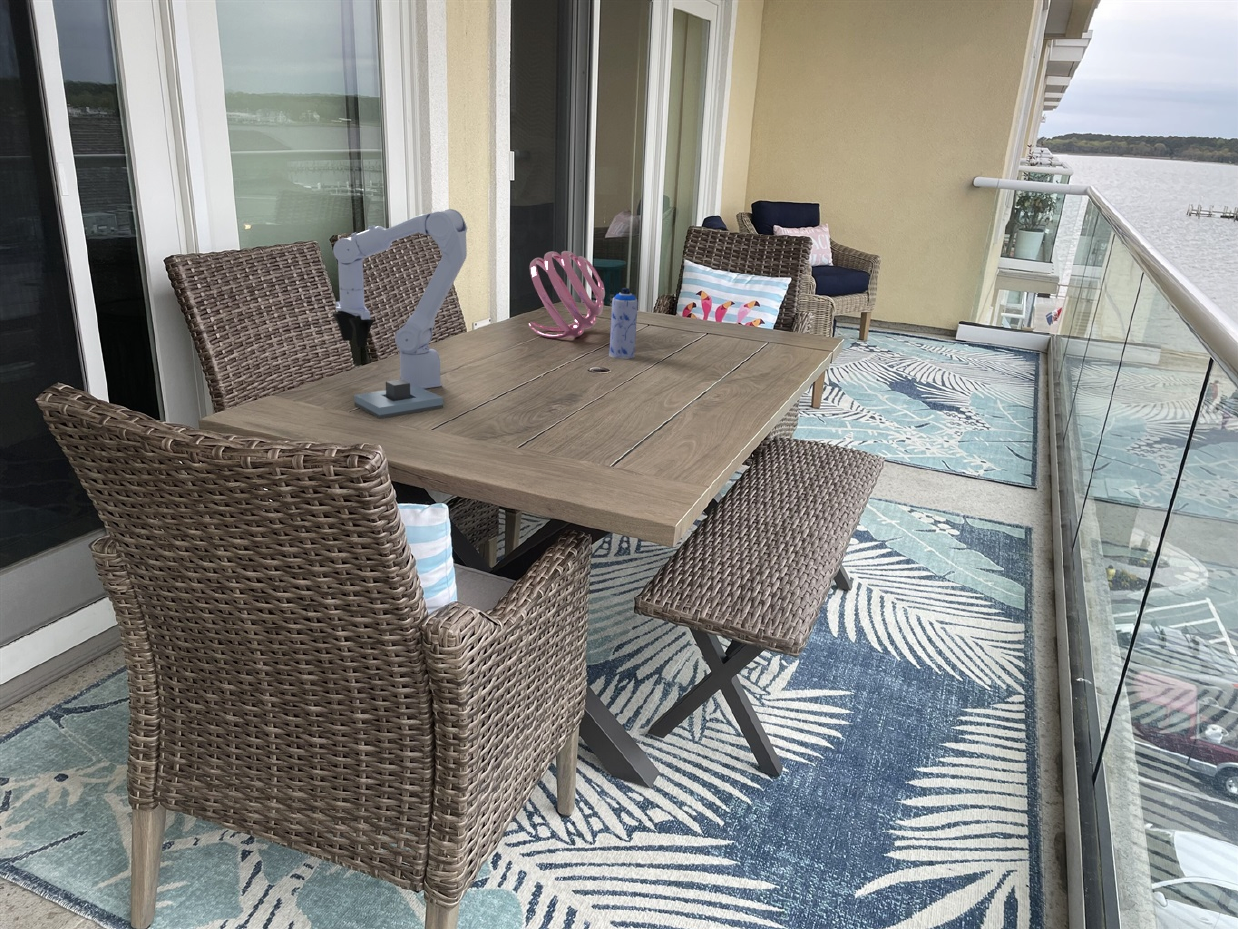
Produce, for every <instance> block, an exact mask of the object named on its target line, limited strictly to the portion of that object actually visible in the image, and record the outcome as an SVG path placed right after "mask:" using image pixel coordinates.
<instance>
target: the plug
mask: <svg viewBox="0 0 1238 929" xmlns="http://www.w3.org/2000/svg"><path fill="white" fill-rule="evenodd" d="M385 390H386V398H388V399H390V400H392V401H398V400H404V399H410V383H409V382H406V381H404V380H402V379H400V378H399V379H393V380H388V381H387V380H386V381H385Z"/></svg>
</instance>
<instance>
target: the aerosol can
mask: <svg viewBox="0 0 1238 929" xmlns="http://www.w3.org/2000/svg"><path fill="white" fill-rule="evenodd" d="M630 291H631V290H630V288H627V287H622V288H621V292H619V293H616V295H615V296H613V298H612V302H611V319H610V334H609V336H610V338H609V352H608V356H609V357H611V358H614V359H619V360H620V359H622V360H629V359H635V357H636V354H635V351H636V349H635V348H636V335H637V334H636V333H637V321H638V320H637V318H638V317H637V316H638V302H639V301H638V299H637V298H636V295H634V294H633V293H631V292H630Z"/></svg>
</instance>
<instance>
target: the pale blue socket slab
mask: <svg viewBox="0 0 1238 929" xmlns="http://www.w3.org/2000/svg"><path fill="white" fill-rule="evenodd" d="M354 406H356V407H358V408H359V409H361V410H363V411H365V412H367V413H368V414H371V415H372V416H374V417H375V418H377V419H385V418H391V417H392V418H393V417H398V416H404V415H409V414H416V413H423V412H428V411H432V410H433V411H435V410H439V409H443V408H444V397H443V396H441V395H438V394H436V393H434V392H431V391H429V390H427V389H426V388H425V389H423V388H421V387H419V386H411V387H410V399H404V400H398V401H392V400H390V399H388V398H386V389H385V390H377V391H371V392H364V393H358V394H354ZM427 410H428V411H427Z"/></svg>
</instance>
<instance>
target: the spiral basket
mask: <svg viewBox="0 0 1238 929" xmlns="http://www.w3.org/2000/svg"><path fill="white" fill-rule="evenodd" d="M553 259H554V260H556V261H557V263H559V265H560V266H561V267H562V268H563V270H564V271H565V274H566V275H567V277H568V280H569V282H570V283H571V285H572V287H573V289H574V290H575V292H576V293H577V295H578V297H579V298H580V300H581V301H582V303H583V304H584V306H585V308H586V311H587V315H586V316H583V314H582V313H581V311H580V309H579V308H578V305H577V303H576V301H575V299H574V298H573V295H572V294H571V292H570V290H569V288H568V287H567V285H566V284H565V281H563V279H562V278H561V276H560V275H559V274H558V272H557V270H556V268H555V264H554V261H553ZM571 259H572V261H574V263H575V264H576V266H577V267H578V268H579V270H580V271H581V273H582V275H583V277H584V279H585V281H586V282H587V284H588V286H589V287H590V289H591V290H592V292H593V295H594V297H595V299H596V300H595V302H593V300H592V299H591V297H590V296H589V295H588V294H589V293H587V291H586V288H585V287H584V285H583V283H582V281H581V279H580V278H579V277H578V275H577V274H576V272H575V271H574V268H573V266H572V262H571ZM537 266H539V267H540V268H542V269H543V271H545V272H546V274H547V275H548V276H547V277H548V278H549V280H550V282H551V284H552V286H553V288H554V290H555V293H556V294H557V296H558V298H559V299H560V301H561V302H562V305H564V307H565V308H566V309H567V311H568V313H569V314H570V315H571V317H572V318H573V322H572V323H571V324H568V323H567V321H565V320H564V318H563V317H562V316H561V315H560V312H559V311H558V309H556V307H555V305H554V304H553V302H552V300H551V298H550V297H549V295H548V293H547V291H546V289H545V287H544V285H543V283H542V280H541V277H540V274H539V271H538V268H537ZM587 266H588V267H587ZM588 268H589V269H590V271H591V272H592V274H593V276H594V278H595V280H596V281H597V284H596V282H595V280H594V279H593V277H592V275H591V273H590V272H589V270H588ZM529 274H530V277H531V278H530V279H531V281H532V283H533V286H534V288H535V291H536V292H537V295H538V296H539V298H540V300H541V301H542V304H543V306H544V307H545V309H546V311H547V312H548V314H549V315H550V317H551V318H552V319H553V320H554V322H555V324H556V325H557V326H548V325H547V326H546V325H542V324H539V323H537V322H535V321H530V323H528V327H529V328H530V329H531V330H532V331H534V332H535V334H537V335H539V336H542V337H544V338H547V339H554V340H555V339H556V340H557V339H564V338H579V337H581V336H582V335H583V334H584V332H585V331H584V330H585V329H586V330H590V329H592V328H593V327H594V326H595V325H596V321H597V316H600V315H601V314H602V313H603V310H604V299H605V295H606V291H605V286H604V282H603V280H601V277H600V276H599V274H598V272H597V270H596V268H595V267H594V266H593V265H592V263H591V262H590V261H589V260H588V259H587V258H586V257H584V256H582V255H579V256H578V255H576V254H575V253H573V251H568V250H563V251H562V252H560V253H558V252H557V251H553V250H552V251H548V252H546V253H545V254H544V256H543V258H542V257H536V258H534V259H533V260H531V262H530V263H529ZM535 327H537V328H539V329H541V330H545V331H549V332H558V333H559V332H560V333H561V332H563V333H561V334H547V333H543V332H542V331H539V330H538V329H536V328H535Z"/></svg>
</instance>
